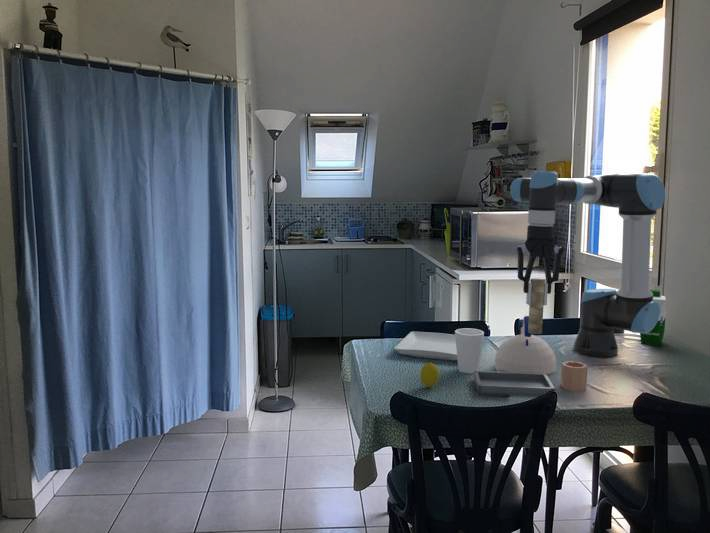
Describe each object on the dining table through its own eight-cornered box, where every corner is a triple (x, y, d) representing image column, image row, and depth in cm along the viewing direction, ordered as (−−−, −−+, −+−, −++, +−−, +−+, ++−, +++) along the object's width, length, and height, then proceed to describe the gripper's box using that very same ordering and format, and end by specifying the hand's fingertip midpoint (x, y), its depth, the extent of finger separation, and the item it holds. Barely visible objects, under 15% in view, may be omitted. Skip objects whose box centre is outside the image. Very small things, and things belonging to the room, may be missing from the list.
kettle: (554, 362, 221) (557, 311, 218) (559, 381, 201) (562, 325, 198) (494, 358, 225) (496, 308, 223) (493, 376, 205) (495, 321, 203)
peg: (540, 331, 192) (543, 278, 189) (543, 334, 188) (546, 280, 185) (526, 330, 192) (529, 278, 190) (529, 334, 188) (532, 280, 186)
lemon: (418, 385, 196) (419, 359, 195) (436, 384, 197) (437, 359, 195) (422, 391, 191) (422, 365, 189) (440, 390, 191) (441, 364, 190)
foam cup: (482, 375, 205) (483, 336, 204) (453, 373, 207) (454, 334, 205) (482, 366, 215) (484, 329, 213) (454, 365, 216) (455, 327, 215)
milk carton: (662, 340, 250) (666, 290, 247) (663, 346, 241) (668, 294, 238) (638, 338, 253) (641, 288, 250) (638, 344, 245) (642, 292, 242)
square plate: (470, 366, 217) (470, 355, 216) (392, 358, 225) (392, 347, 225) (481, 346, 242) (481, 336, 241) (411, 339, 251) (411, 329, 250)
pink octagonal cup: (582, 386, 195) (583, 361, 194) (587, 394, 189) (589, 368, 187) (558, 386, 196) (560, 360, 195) (563, 393, 189) (565, 367, 188)
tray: (545, 382, 199) (545, 373, 198) (554, 398, 185) (555, 388, 185) (473, 380, 201) (474, 370, 201) (477, 395, 187) (478, 385, 187)
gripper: (567, 224, 188) (562, 302, 192) (509, 223, 190) (505, 300, 193) (574, 226, 181) (569, 307, 184) (513, 225, 182) (509, 305, 186)
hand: (536, 304), depth 189 cm, fingers closed on peg, 4 cm apart
